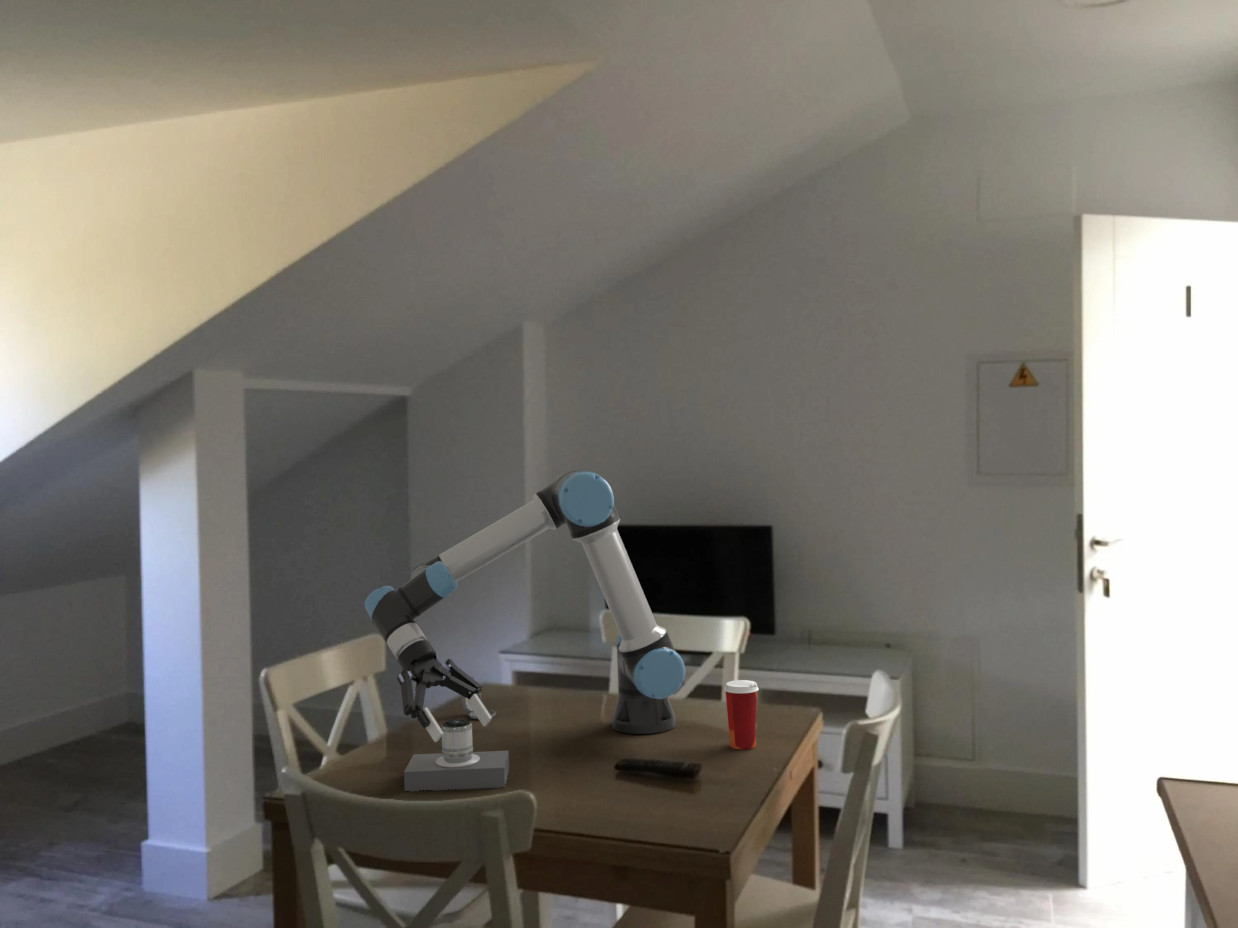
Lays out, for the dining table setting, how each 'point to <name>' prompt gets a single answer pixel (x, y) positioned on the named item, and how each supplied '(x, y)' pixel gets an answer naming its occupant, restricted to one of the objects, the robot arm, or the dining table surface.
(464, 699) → the pocket watch
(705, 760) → the dining table surface
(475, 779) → the box with white oval
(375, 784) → the dining table surface
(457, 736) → the camera lens
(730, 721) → the paper cup
